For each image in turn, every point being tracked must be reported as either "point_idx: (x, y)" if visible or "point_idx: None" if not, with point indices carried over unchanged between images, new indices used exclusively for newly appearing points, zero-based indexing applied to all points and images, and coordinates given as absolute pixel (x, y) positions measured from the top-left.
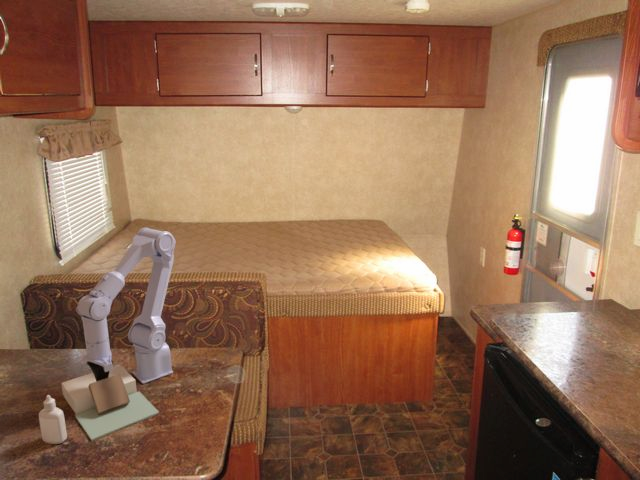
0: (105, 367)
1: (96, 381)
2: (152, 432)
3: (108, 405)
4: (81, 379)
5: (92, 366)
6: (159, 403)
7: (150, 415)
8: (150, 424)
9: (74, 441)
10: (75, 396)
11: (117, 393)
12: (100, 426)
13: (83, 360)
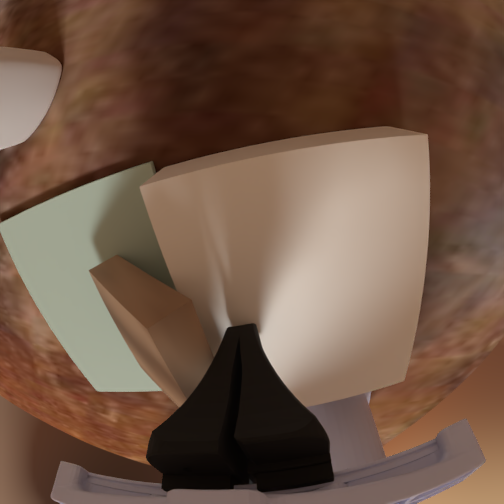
0: (54, 487)
1: (253, 335)
2: (30, 353)
3: (111, 313)
4: (397, 242)
5: (167, 458)
6: (147, 399)
7: (84, 374)
8: (57, 361)
9: (8, 168)
10: (200, 192)
11: (148, 367)
12: (45, 255)
13: (203, 497)
